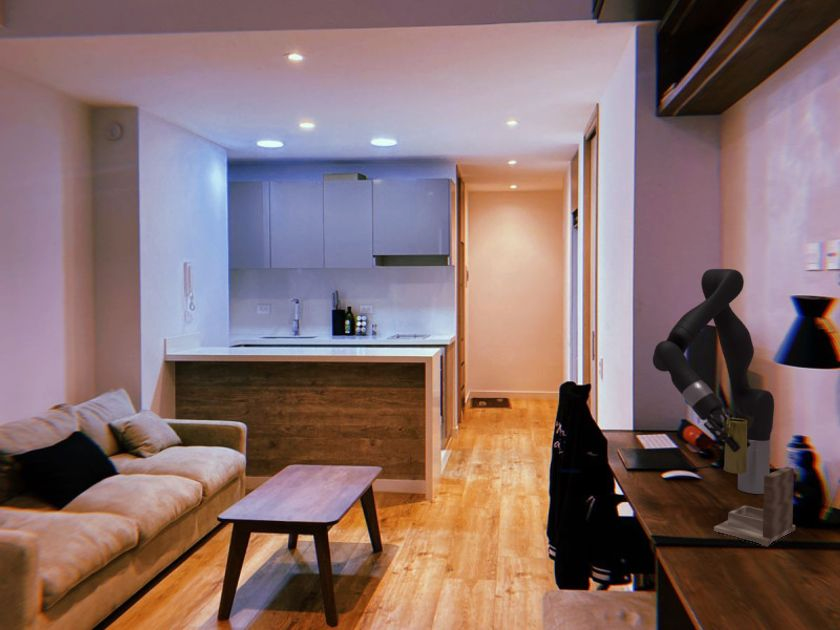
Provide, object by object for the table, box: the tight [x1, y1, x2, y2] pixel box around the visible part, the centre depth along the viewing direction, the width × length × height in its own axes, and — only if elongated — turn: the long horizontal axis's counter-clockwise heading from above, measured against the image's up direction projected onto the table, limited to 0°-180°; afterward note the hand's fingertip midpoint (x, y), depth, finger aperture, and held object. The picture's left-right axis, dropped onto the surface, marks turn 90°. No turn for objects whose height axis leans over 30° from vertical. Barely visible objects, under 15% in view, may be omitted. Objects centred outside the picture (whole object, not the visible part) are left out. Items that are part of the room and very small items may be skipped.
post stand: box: [713, 466, 796, 548], centre depth 191 cm, size 18×14×18 cm
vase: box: [723, 418, 748, 475], centre depth 195 cm, size 6×6×14 cm
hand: (742, 448), depth 194 cm, fingers closed on vase, 5 cm apart
